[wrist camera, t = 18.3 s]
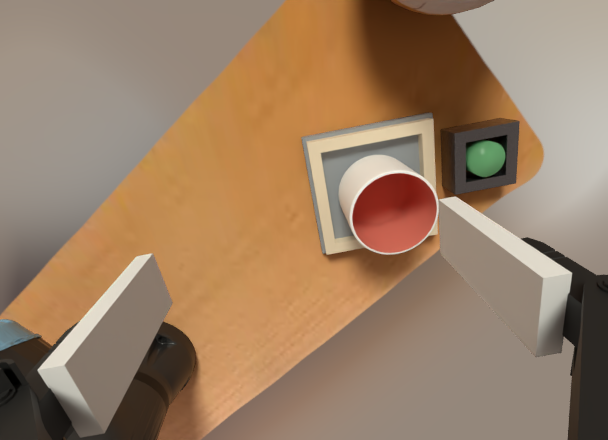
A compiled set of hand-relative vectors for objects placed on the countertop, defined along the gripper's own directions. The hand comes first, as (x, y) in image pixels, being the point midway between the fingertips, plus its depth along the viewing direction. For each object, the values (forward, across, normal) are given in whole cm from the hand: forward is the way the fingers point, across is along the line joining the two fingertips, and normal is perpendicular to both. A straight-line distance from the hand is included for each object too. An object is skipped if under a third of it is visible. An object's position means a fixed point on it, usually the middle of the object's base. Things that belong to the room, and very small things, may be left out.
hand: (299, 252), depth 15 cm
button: (+30, +24, -6) cm, 39 cm away
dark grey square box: (+32, +24, -6) cm, 40 cm away
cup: (+31, +10, -8) cm, 33 cm away
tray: (+32, +10, -8) cm, 34 cm away
